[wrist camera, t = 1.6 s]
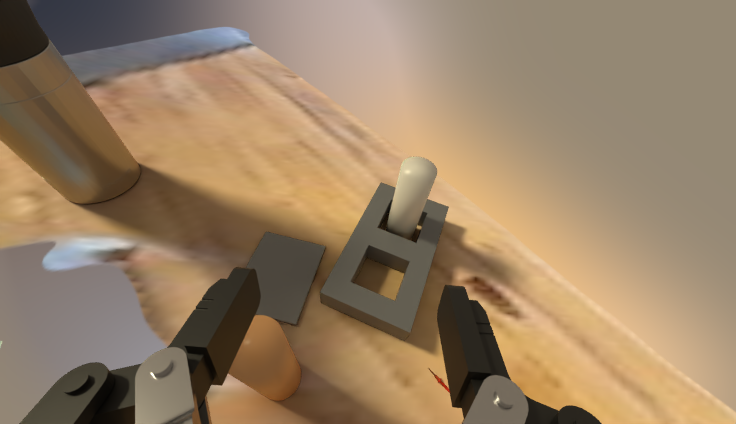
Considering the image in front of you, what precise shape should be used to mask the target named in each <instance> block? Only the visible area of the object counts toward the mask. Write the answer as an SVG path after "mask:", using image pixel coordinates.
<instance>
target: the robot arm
mask: <svg viewBox="0 0 736 424" xmlns="http://www.w3.org/2000/svg"><path fill="white" fill-rule="evenodd" d="M0 140H1V141H2V142H3V143H4V144H5V145H7V146H8V147H9V148H10V149H11V150H12V151H13V152H14V153H15V154H17V155H18V156H19V157H20V158H21V159H22V160H23V161H24V162H26V163H27V164H28V165H29V166H30V167H31V168H32V169H33V170H34V171H36V172H37V173H38V174H39V175H40V176H41V177H42V178H43V179H44V180H45V181H47V182H48V183H49V184H50V185H51V186H52V187H53V188H54V189H56V190H57V191H58V192H59V193H60V194H61V195H62V196H63V197H65V198H66V199H67V200H69V201H71V202H75V203H80V204H90V203H98V202H102V201H106V200H109V199H112V198H114V197H116V196H118V195H120V194H122V193H124V192H125V191H127V190H128V189H129V188H131V187H132V186H133V185H134V184H135V183H136V181H137V180H138V178H139V176H140V172H141V170H140V166H139V165H138V163H137V162H136V161H135V159H134V158H133V156H132V155H131V153H130V152H129V151H128V149H127V148H126V146H125V145H124V143H123V142H122V140H121V139H120V138H119V136H118V135H117V133H116V132H115V131H114V129H113V128H112V126H111V125H110V124H109V122H108V121H107V119H106V118H105V117H104V115H103V114H102V112H101V111H100V110H99V108H98V107H97V105H96V104H95V102H94V101H93V100H92V98H91V97H90V95H89V94H88V93H87V91H86V90H85V88H84V87H83V86H82V84H81V83H80V81H79V80H78V79H77V77H76V76H75V74H74V73H73V72H72V70H71V69H70V68H69V66H68V65H67V63H66V62H65V61H64V59H63V58H62V56H61V55H60V54H59V52H58V51H57V49H56V48H55V47H54V45H53V44H52V43H51V41H50V40H49V39H48V37H47V36H46V34H45V33H44V31H43V30H42V28H41V27H40V25H39V24H38V22H37V20H36V18H35V16H34V14H33V12H32V10H31V8H30V6H29V4H28V2H27V0H0ZM260 299H261V292H260V287H259V283H258V278H257V273H256V270H255V269H253V268H241V267H236V268H234V269H233V271H232V272H231V274H230V275H229V277H228V278H227V279H220V280H219V281H217V282H216V283H215V284H214V285H212V286H211V287H210V288H209V289H208V291H207V292H206V294H205V295H204V296H203V298H202V301H200V302H199V304H198V305H197V306H196V309H195V310H194V311H193V312H192V314H191V315H190V317H189V318H188V319H187V321H186V322H185V324H184V325H183V327H182V328H181V330H180V331H179V332H178V334H177V335H176V337H175V338H174V340H173V341H172V342H171V344H170V345H169V346H168V347H167V348H165V349H162V350H160V351H158V352H156V353H154V354H153V355H151V356H150V357H148V358H147V359H146V360H145V361H144V362H143V363H142V364H138V365H134V366H129V367H125V368H120V369H116V370H111V371H109V370H108V368H107V367H106V366H105V365H104V364H102V363H97V362H96V363H88V364H85V365H82V366H79V367H77V368H75V369H73V370H71V371H70V372H68V373H67V374H65V375H64V376H63V377H61V378H60V379H59V380H58V381H57V382H56V383H55V384H54V385H53V386H52V388H51V389H50V390H49V391H48V392H47V393H46V394H45V395H44V396H43V398H42V399H41V400H40V401H39V403H38V404H37V405H36V406H35V407H34V408H33V409H32V410H31V411H30V412H29V413H28V415H27V416H26V417H25V418H24V419H23V421H22V422H21V423H20V424H212V422H211V417H210V412H209V407H208V401H207V397H206V394H207V392H208V390H209V388H210V386H211V385H223V383H224V380H225V378H226V376H227V374H228V372H229V370H230V368H231V365H232V363H233V361H234V359H235V357H236V355H237V353H238V350H239V348H240V346H241V344H242V342H243V340H244V338H245V335H246V333H247V331H248V329H249V327H250V325H251V322H252V320H253V318H254V316H255V314H256V312H257V310H258V307H259V304H260ZM437 321H438V328H439V334H440V339H441V345H442V351H443V356H444V362H445V368H446V373H447V379H448V385H449V390H450V396H451V402H452V407H456V408H462V411H463V416H464V420H463V422H462V424H601V423H600V421H599V420H598V419H596V418H595V417H594V416H593V415H592V414H590V413H589V412H587V411H586V410H584V409H582V408H579V407H576V406H565V407H563V408H562V409H560V411H558V410H556V409H553V408H551V407H548V406H546V405H544V404H541V403H539V402H536V401H534V400H532V399H530V398H529V397H527V396H526V395H524V393H523V392H522V390H521V389H520V388H519V387H518V386H517V385H516V384H515V383H514V382H512V381H511V379H510V377H509V375H508V372H507V370H506V367H505V364H504V361H503V358H502V356H501V353H500V350H499V347H498V344H497V342H496V339H495V336H494V335H493V334H494V333H493V330H492V328H491V326H490V322H489V319H488V316H487V314H486V311H485V310H484V309H483V307H482V306H481V305H480V304H479V303H478V301H475V300H469V298H468V295H467V292H466V289H465V287H464V286H452V285H445V287H444V290H443V293H442V297H441V300H440V304H439V307H438V313H437Z"/></svg>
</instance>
